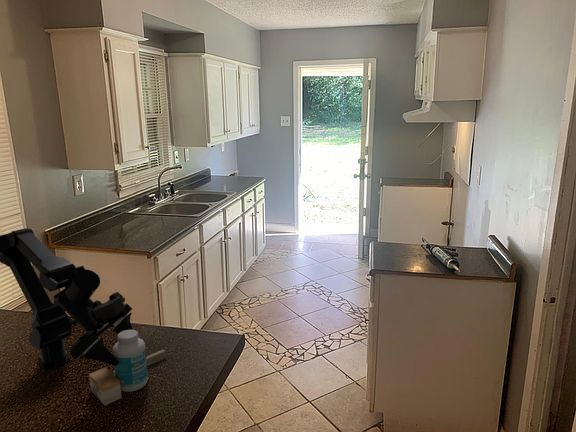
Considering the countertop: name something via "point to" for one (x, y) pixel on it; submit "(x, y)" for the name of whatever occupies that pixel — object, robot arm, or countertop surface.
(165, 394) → the countertop surface
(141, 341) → the pill bottle
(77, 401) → the countertop surface
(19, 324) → the countertop surface
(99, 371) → the block
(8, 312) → the countertop surface
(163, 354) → the rail
